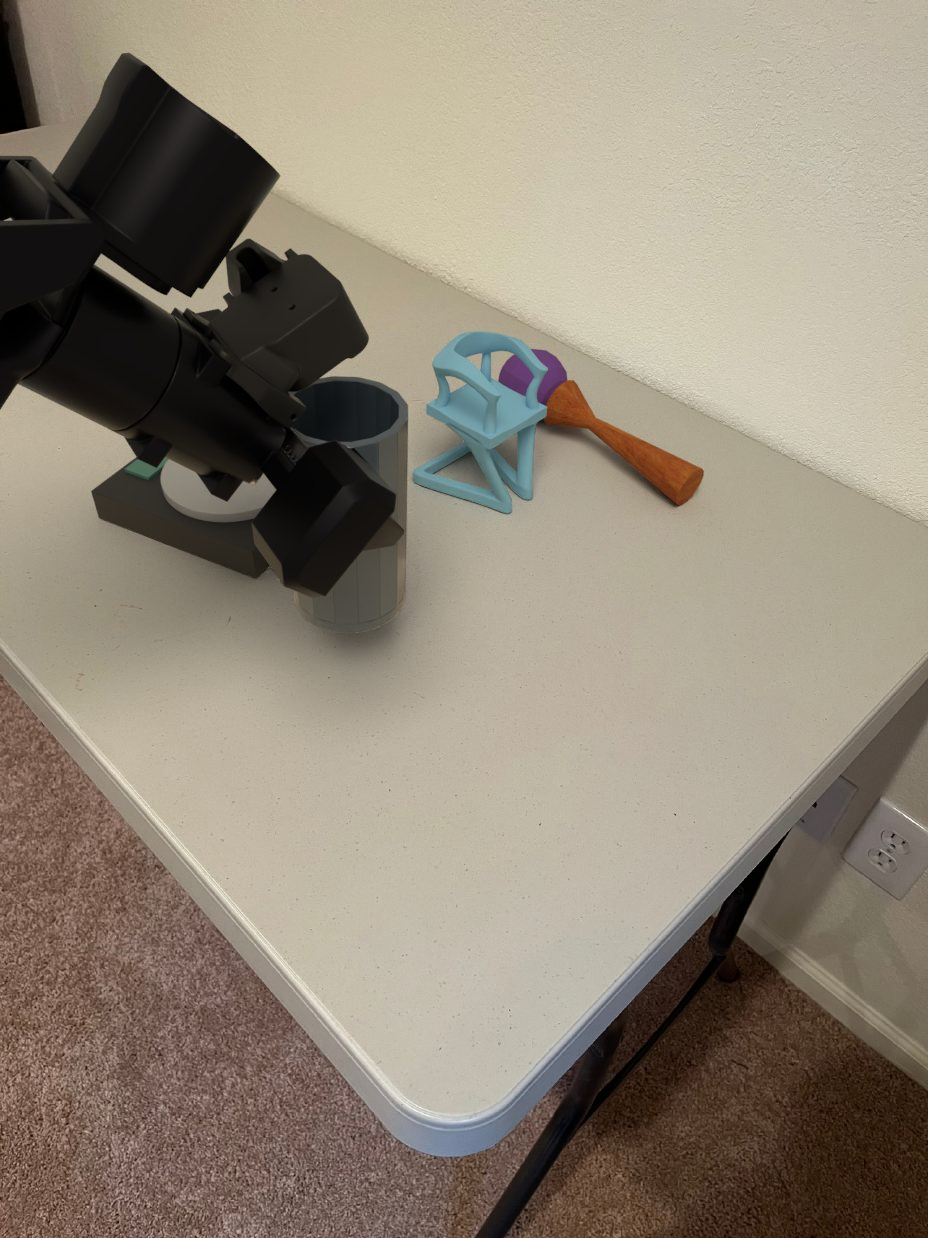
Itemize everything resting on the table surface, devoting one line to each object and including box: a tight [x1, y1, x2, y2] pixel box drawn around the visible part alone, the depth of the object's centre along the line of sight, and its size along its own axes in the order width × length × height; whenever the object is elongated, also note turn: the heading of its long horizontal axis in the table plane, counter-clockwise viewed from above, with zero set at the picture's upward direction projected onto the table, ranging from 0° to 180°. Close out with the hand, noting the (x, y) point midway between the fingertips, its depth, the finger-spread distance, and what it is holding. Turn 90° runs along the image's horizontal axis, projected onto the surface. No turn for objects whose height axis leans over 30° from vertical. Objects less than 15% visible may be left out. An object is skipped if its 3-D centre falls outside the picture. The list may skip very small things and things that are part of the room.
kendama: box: [497, 348, 705, 506], centre depth 76 cm, size 6×6×20 cm
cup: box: [281, 375, 409, 634], centre depth 52 cm, size 7×7×13 cm
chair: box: [412, 330, 548, 514], centre depth 69 cm, size 8×8×12 cm
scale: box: [90, 456, 276, 579], centre depth 68 cm, size 14×12×3 cm
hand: (367, 501), depth 52 cm, fingers closed on cup, 7 cm apart
